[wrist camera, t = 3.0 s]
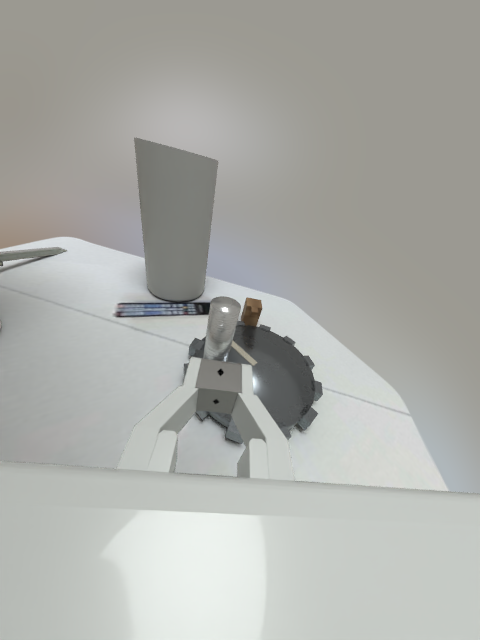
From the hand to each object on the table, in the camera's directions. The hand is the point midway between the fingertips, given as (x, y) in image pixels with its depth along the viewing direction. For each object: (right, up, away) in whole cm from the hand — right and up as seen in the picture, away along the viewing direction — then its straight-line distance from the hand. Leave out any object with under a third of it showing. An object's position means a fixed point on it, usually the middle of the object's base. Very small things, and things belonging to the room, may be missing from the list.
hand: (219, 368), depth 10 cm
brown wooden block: (+3, +2, +31) cm, 31 cm away
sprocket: (+3, -6, +20) cm, 21 cm away
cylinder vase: (-14, +10, +36) cm, 40 cm away
